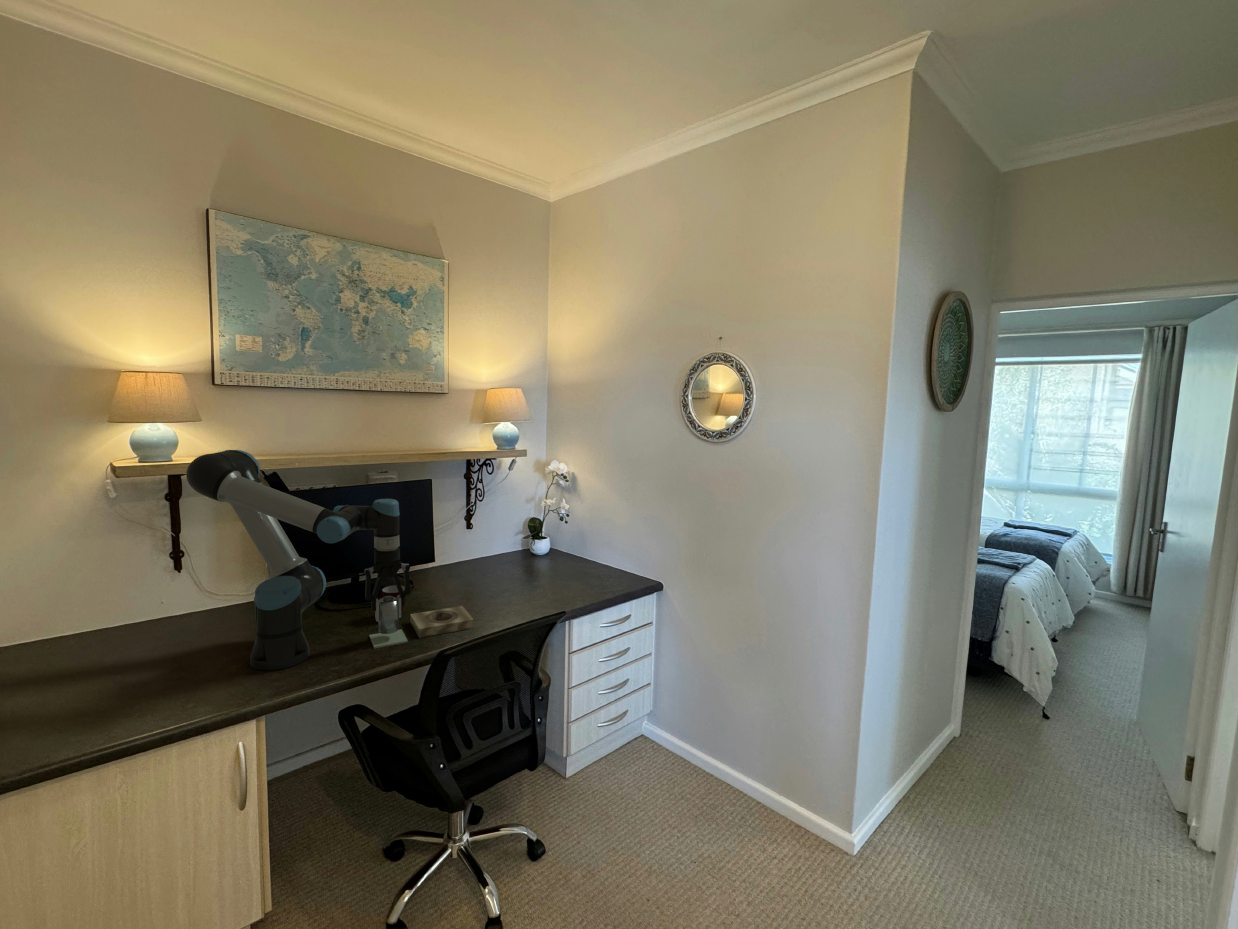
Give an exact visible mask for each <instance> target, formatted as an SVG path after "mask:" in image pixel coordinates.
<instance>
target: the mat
mask: <svg viewBox="0 0 1238 929" xmlns="http://www.w3.org/2000/svg"><path fill="white" fill-rule="evenodd" d="M368 636H369V639H370V643H371V644H372V647H373V649H374V650H376V649H380V648H386V647H391V646H396V645H401V644H407V643H409V642H408V639H407V637H406V635H405V633H404V631H403V629H399V630H398V631H397V632H394V633H391V634H381V633H379V632H378V633H373V634H369V635H368Z"/></svg>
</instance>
